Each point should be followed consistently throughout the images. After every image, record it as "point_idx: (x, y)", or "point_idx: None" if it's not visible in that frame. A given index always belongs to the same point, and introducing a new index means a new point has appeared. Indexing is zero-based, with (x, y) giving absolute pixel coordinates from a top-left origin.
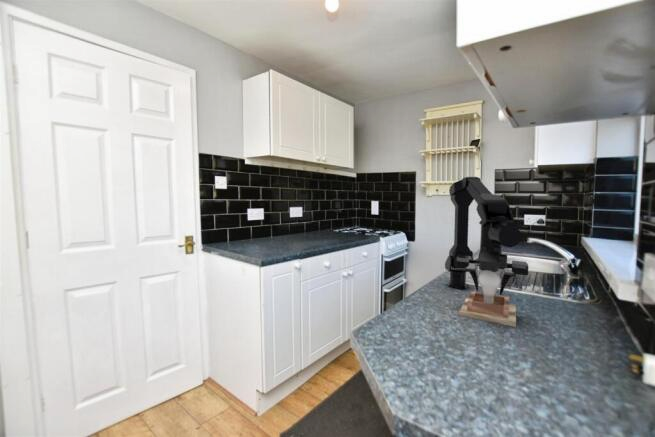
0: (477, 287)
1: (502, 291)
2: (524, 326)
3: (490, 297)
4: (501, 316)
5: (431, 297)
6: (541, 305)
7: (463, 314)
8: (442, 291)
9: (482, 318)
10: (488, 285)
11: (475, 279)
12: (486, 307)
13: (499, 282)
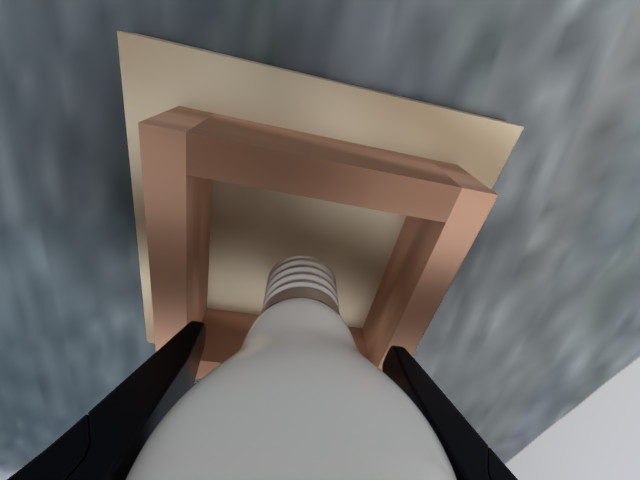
0: (410, 373)
1: (167, 343)
2: (80, 72)
3: (290, 288)
4: (225, 117)
5: (563, 346)
6: (52, 404)
7: (488, 117)
8: (473, 420)
9: (363, 88)
10: (325, 363)
11: (480, 469)
12: (336, 154)
13: (152, 443)
